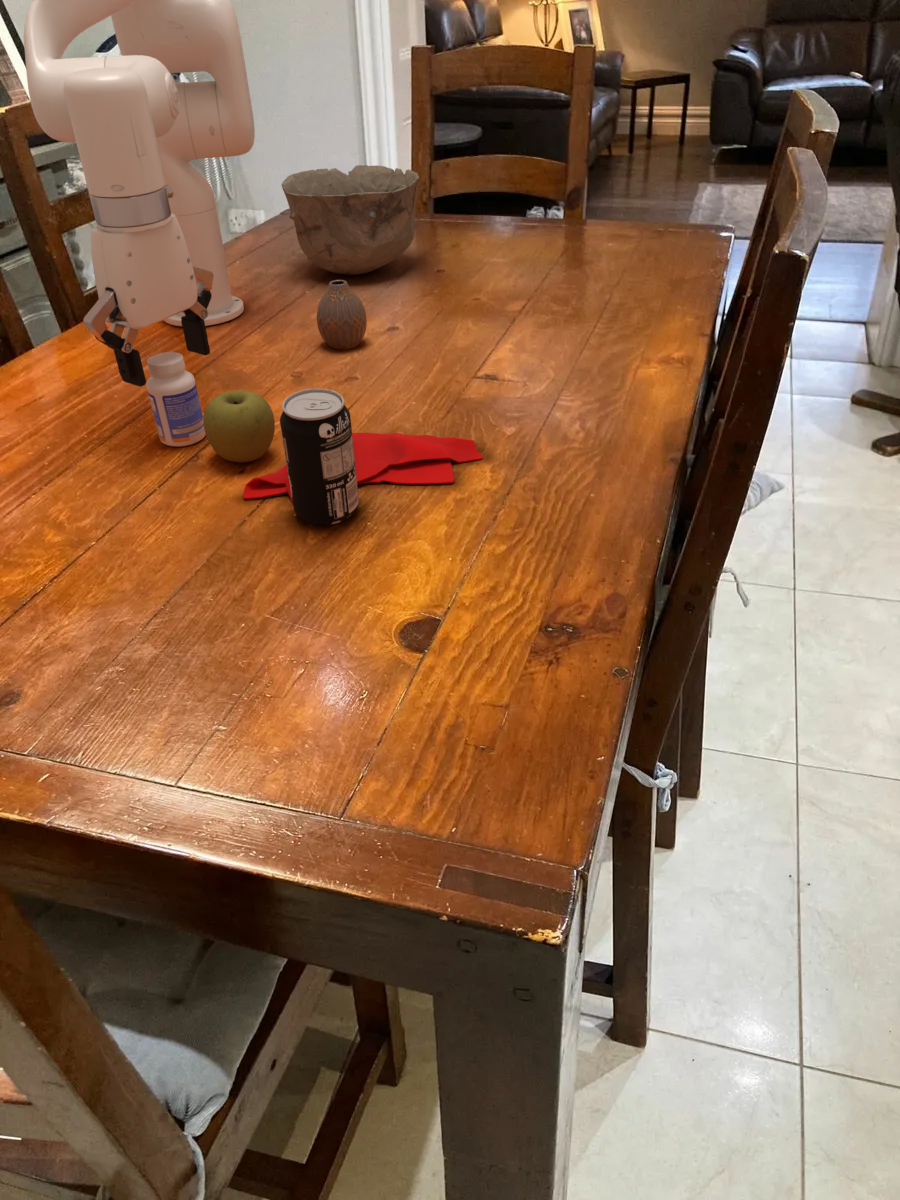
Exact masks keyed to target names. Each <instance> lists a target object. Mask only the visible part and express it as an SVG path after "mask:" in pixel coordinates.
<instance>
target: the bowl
mask: <svg viewBox="0 0 900 1200" xmlns="http://www.w3.org/2000/svg"><path fill="white" fill-rule="evenodd" d="M347 172H348V173H345V172H342V171H341V170H339V169H338V168H336V167H333V168H330V169H328V168H317V169H310V170H303V171H299V172H296V173H295V172H294V173H292V174H290V175H288V176H287V177H286V178H285V179H284V180H283V181H282V183H281V188H282V191H283V193H284V195H285V198H286V201H287V204H288V207H289V211H290V214H289V216H288V218H289V219H291V220H292V221H293V223H294V227H295V233H296V238H297V241H298V244H299V247H300V249H301V251H302V253H303V254H304V255H305V256H306V258H307V259H308V260H309V261H310V262H311V263H312V264H313V265H315V266H316V267H318V268H320V269H322V270H324V271H327V272H329V273H333V274H339V275H347V276H357V275H358V276H359V275H365V274H367V273H368V274H369V273H371V272H373V271H375V270H377V269H380V268H381V267H383V266H385V265H388V264H389V263H391V262H392V261H394V260H395V259H397V258H398V257H400V256H402V255H403V254H404V253H405V252H406V250H407V249H408V248H409V247H410V246H411V245H412V243H413V240H414V239H415V230H416V229H415V228H416V214H417V200H418V196H417V195H418V194H417V193H418V187H419V182H420V176H419V174H418V172H417V171H414V170H412V169H409V168H408V169H406V170H405V172H403V170H402V169H401V168H398V167H395V169H393V168H391V167H387V166H386V165H385V166H384V165H368V164H363V165H362V164H358V165H355V166H354V167H353V168H352V169H351V170H350V171H347Z"/></svg>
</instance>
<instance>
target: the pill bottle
mask: <svg viewBox="0 0 900 1200" xmlns="http://www.w3.org/2000/svg"><path fill="white" fill-rule="evenodd" d="M146 365H147V371H148V372H149V374H150V375H151V376H150V377H148V379H147V380H146V384H145V385H146V391H147V394H148V399H149V402H150V407H151V411H152V415H153V418H154V422H155V427H156V431H157V435H158V438H159V440H160V442H161V443H162V444H163V445H166V446H167V447H168V446H169V447H176V448H177V447H186V446H190V445H194V444H196V443H199V442H200V441H201V440H203V439H204V438H205V437H206V433H205V429H204V414H203V410H202V406H201V402H200V397H199V391H198V388H197V383H196V379H195V377H194V375H193V373H191V372H190V371H188V370H186V364H185V359H184V356H183V354H181V353H180V352H176V351H165V352H158V353H156V354H153V355H150V356H149V357H148V358H147V359H146Z"/></svg>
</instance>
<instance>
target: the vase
mask: <svg viewBox="0 0 900 1200" xmlns="http://www.w3.org/2000/svg"><path fill="white" fill-rule="evenodd" d="M367 322H368V321H367V311H366V309H365V306H364V303H363V301H362V300H361V299H360V297H359V296H358V295H357V294H356V293H355V292H354V291H353V290H352V288H351V287H350V285H349V283H348V282H347V280H344V279H335V280H331V281H329V283H328V286H327V288H326V291H325V292H324V294H323V296H322V297H321V299H320V301H319V303H318V305H317V310H316V324H317V329H318V332H319V334H320V337H321V338H322V340H323V341H324V342H325V343H326V344H327V346H329V347H330V348H331V349H336V350H350V349H353V348H355V347H357V346H359V345H360V343H361V342H362V341H363V339H364V338H365V335H366V331H367V327H368V325H367V324H368V323H367Z"/></svg>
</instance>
